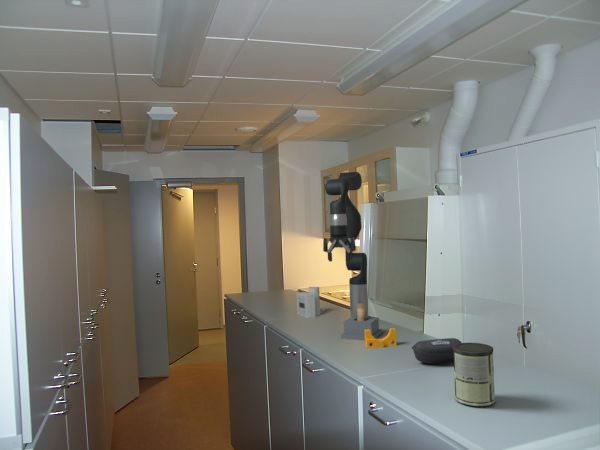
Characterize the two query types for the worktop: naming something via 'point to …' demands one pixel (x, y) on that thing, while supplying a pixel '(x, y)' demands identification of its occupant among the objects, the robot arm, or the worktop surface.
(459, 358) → the coffee can
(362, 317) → the oak peg
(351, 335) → the socket block
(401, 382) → the worktop surface
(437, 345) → the glasses case
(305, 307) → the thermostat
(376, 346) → the pipe clamp
